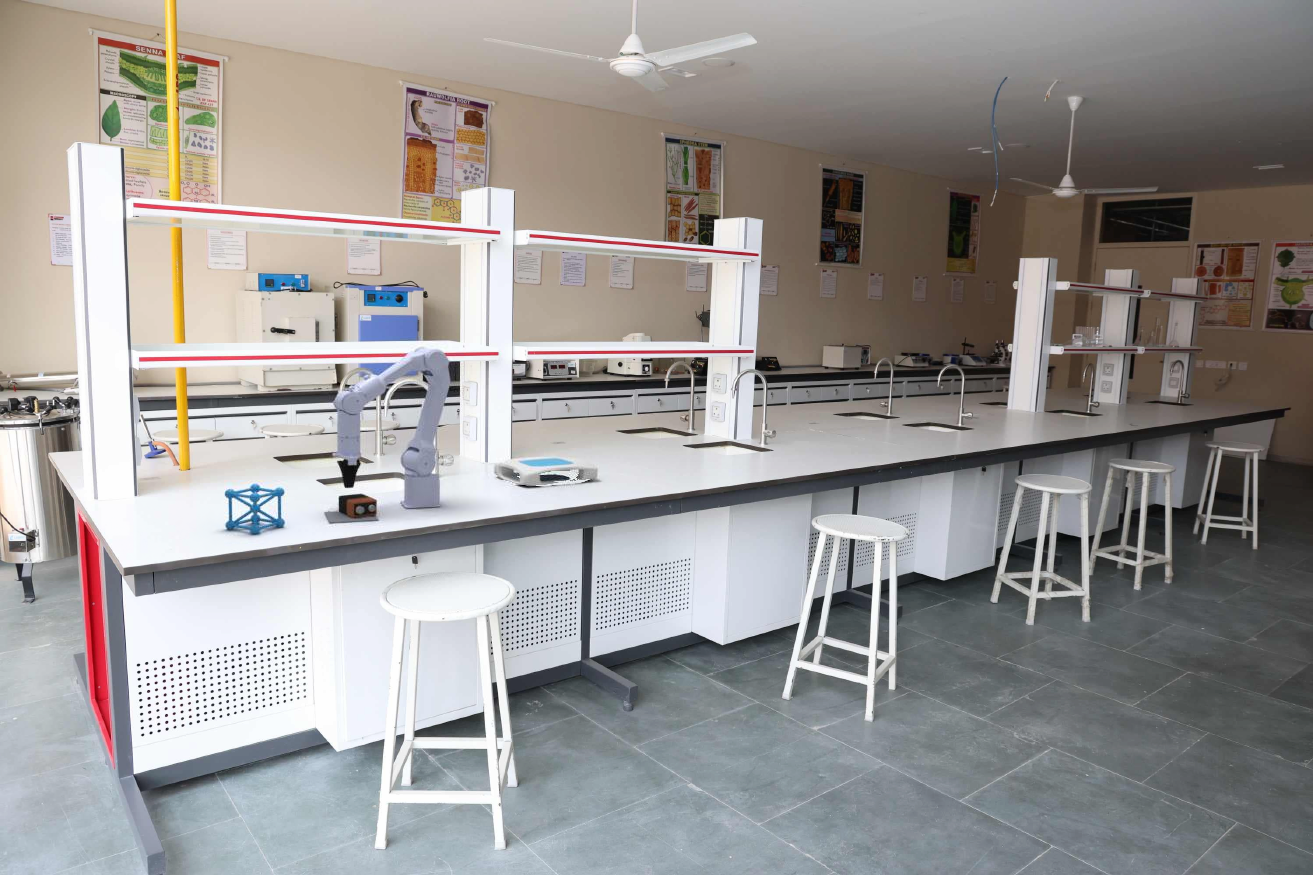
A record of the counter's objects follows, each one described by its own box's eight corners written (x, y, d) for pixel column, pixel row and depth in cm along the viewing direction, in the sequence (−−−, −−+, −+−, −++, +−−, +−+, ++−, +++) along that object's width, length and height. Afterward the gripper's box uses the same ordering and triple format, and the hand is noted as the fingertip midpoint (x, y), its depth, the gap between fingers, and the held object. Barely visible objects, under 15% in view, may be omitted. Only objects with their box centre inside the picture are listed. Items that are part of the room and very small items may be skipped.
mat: (371, 510, 237) (371, 509, 237) (378, 520, 227) (378, 519, 227) (324, 512, 232) (324, 511, 232) (329, 523, 221) (329, 522, 221)
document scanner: (598, 482, 294) (598, 464, 293) (525, 489, 276) (525, 470, 276) (564, 471, 310) (564, 454, 309) (493, 478, 293) (493, 459, 292)
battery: (337, 495, 232) (353, 502, 225) (362, 493, 237) (378, 499, 230) (337, 511, 233) (353, 519, 226) (362, 508, 238) (378, 516, 230)
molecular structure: (223, 530, 210) (222, 489, 209) (255, 521, 220) (255, 482, 218) (255, 535, 207) (254, 494, 206) (287, 526, 216) (286, 487, 215)
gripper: (329, 433, 235) (329, 482, 237) (336, 441, 222) (336, 493, 224) (357, 432, 238) (357, 481, 240) (365, 440, 225) (364, 492, 227)
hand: (348, 487), depth 232 cm, fingers closed
